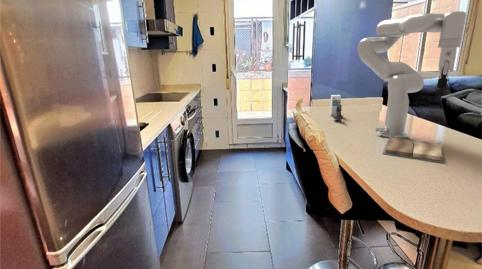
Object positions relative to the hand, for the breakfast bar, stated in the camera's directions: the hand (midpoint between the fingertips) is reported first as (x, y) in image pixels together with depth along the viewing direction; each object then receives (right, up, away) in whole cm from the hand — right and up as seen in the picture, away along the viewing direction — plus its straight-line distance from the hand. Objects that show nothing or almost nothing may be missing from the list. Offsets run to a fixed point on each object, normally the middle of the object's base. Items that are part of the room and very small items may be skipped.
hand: (441, 88), depth 122 cm
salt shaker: (-25, -12, +57) cm, 64 cm away
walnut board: (-15, -27, +6) cm, 31 cm away
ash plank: (-6, -28, 0) cm, 28 cm away
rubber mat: (-11, -28, +3) cm, 30 cm away
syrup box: (-22, -8, +73) cm, 76 cm away
